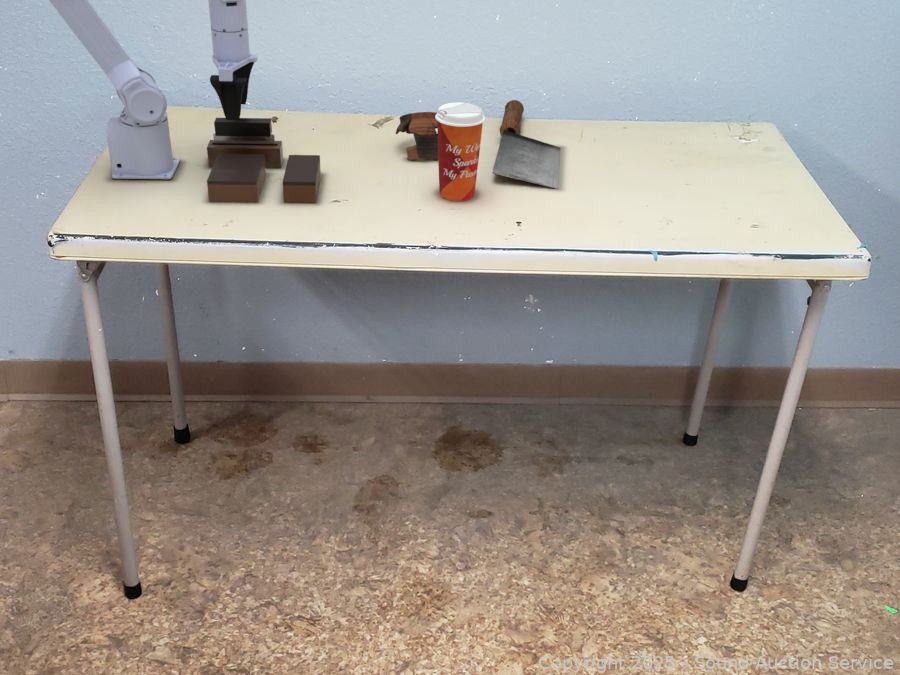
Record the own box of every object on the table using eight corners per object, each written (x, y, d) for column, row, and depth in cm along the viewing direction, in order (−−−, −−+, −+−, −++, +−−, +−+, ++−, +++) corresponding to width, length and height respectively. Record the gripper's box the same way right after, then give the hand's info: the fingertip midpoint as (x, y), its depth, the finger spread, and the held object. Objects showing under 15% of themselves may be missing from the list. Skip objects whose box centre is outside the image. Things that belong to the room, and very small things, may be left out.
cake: (209, 201, 147) (206, 180, 146) (219, 173, 157) (217, 153, 155) (258, 202, 148) (256, 181, 146) (265, 174, 157) (264, 154, 155)
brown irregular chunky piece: (390, 162, 165) (386, 114, 164) (410, 168, 174) (406, 122, 173) (456, 154, 161) (452, 104, 160) (473, 160, 170) (469, 113, 169)
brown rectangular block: (283, 202, 148) (282, 181, 146) (290, 174, 157) (289, 154, 156) (316, 202, 148) (315, 181, 147) (320, 175, 158) (319, 155, 156)
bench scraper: (215, 165, 160) (210, 121, 155) (217, 160, 161) (213, 117, 157) (275, 166, 160) (272, 122, 156) (277, 161, 162) (274, 118, 158)
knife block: (208, 167, 159) (206, 147, 157) (212, 159, 162) (210, 139, 160) (281, 168, 160) (280, 148, 158) (283, 160, 163) (282, 140, 161)
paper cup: (446, 207, 149) (449, 120, 141) (424, 188, 154) (426, 104, 147) (490, 199, 152) (495, 114, 144) (467, 181, 158) (471, 98, 150)
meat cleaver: (558, 188, 156) (561, 165, 154) (490, 183, 157) (491, 160, 155) (561, 121, 185) (563, 101, 183) (503, 117, 186) (505, 96, 184)
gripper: (248, 41, 145) (255, 127, 152) (260, 17, 157) (265, 97, 164) (201, 39, 144) (210, 126, 152) (217, 15, 157) (224, 96, 164)
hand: (236, 111), depth 158 cm, fingers open, 7 cm apart
